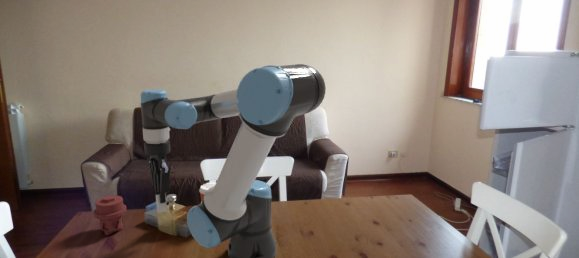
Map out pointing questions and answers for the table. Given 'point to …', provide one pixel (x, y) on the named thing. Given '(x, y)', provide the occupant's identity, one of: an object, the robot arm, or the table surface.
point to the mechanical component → (110, 213)
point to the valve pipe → (170, 220)
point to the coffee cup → (205, 188)
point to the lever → (168, 199)
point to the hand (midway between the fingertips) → (161, 210)
